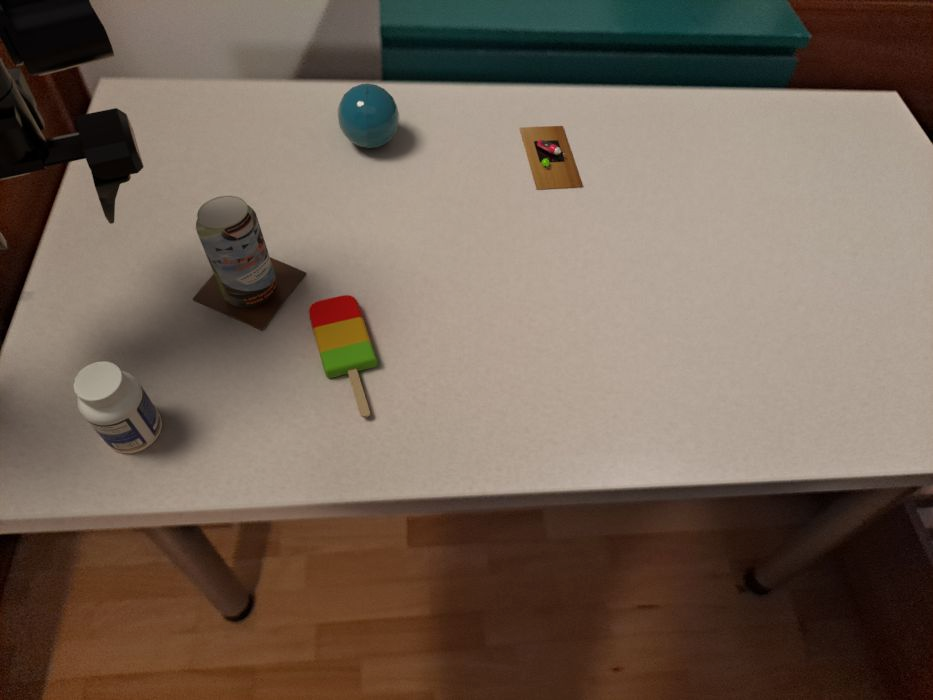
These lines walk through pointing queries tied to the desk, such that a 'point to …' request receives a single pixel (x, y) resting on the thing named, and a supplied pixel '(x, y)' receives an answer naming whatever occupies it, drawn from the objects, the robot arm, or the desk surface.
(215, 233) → the beverage can
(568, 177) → the board
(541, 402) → the desk surface
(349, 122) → the ball
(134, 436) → the pill bottle
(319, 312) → the popsicle
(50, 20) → the robot arm
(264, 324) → the coaster
